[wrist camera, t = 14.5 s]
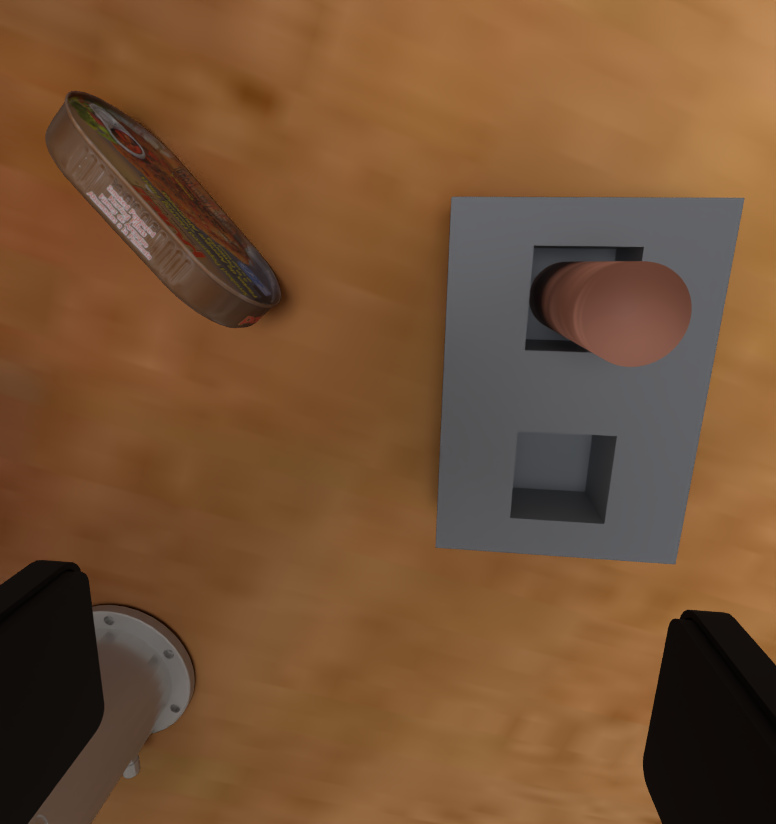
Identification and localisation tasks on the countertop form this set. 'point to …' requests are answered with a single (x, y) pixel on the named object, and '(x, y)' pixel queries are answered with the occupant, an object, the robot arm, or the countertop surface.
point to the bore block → (572, 381)
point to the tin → (161, 212)
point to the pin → (614, 308)
